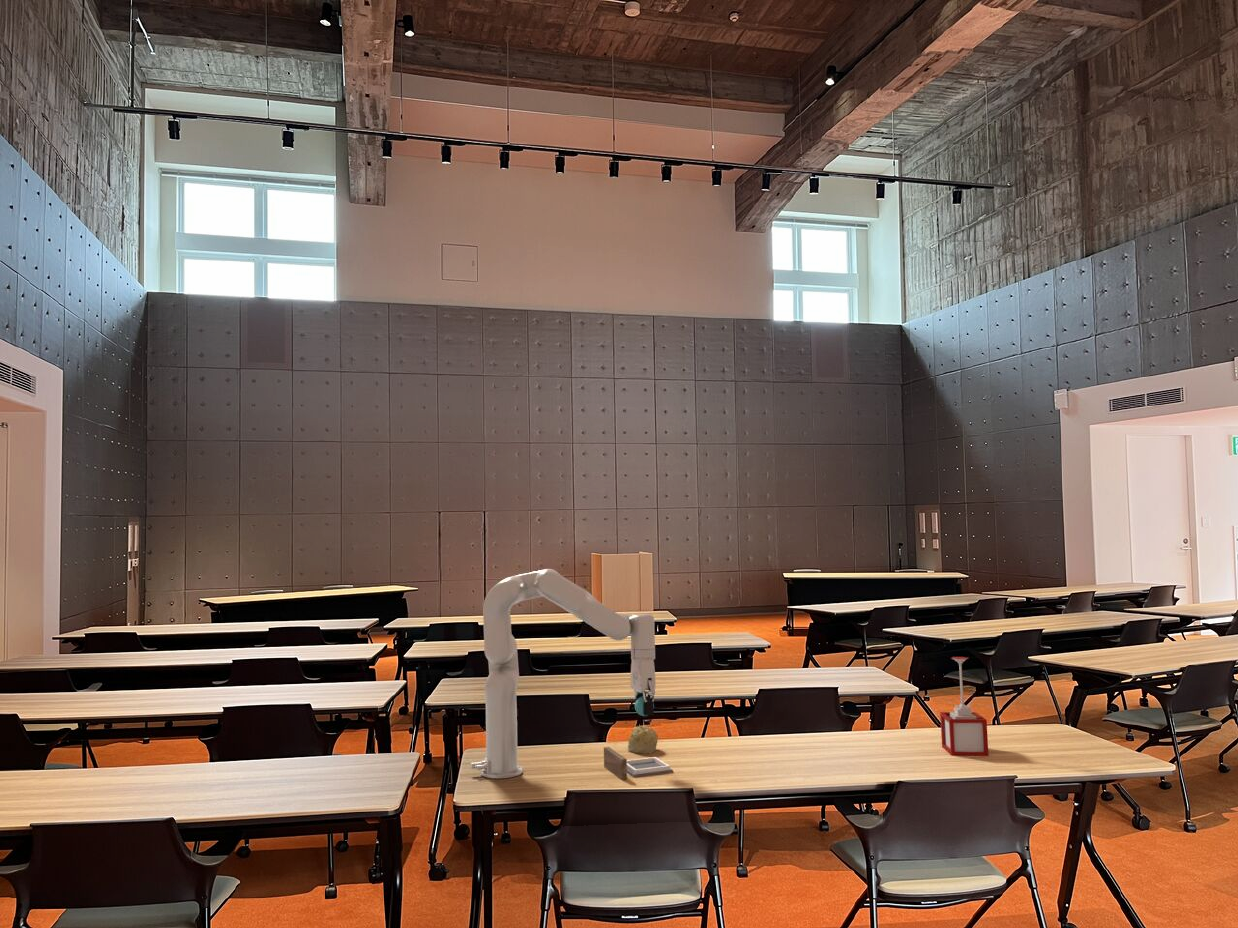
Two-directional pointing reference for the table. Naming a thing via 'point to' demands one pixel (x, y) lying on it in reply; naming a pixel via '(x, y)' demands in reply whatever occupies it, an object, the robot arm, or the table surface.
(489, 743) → the robot arm
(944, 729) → the pendant light
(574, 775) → the table surface
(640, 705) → the ball
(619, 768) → the low wall
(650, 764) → the grey square tray
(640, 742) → the rock
